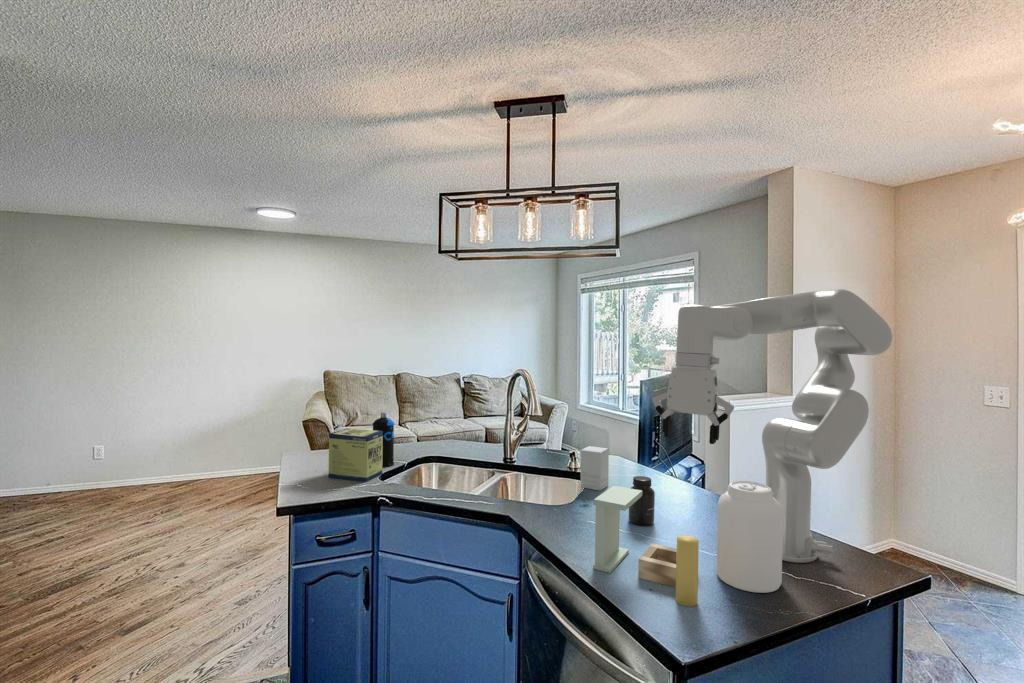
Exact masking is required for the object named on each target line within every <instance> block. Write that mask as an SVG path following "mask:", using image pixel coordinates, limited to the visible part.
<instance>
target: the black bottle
mask: <svg viewBox="0 0 1024 683" xmlns="http://www.w3.org/2000/svg"><path fill="white" fill-rule="evenodd" d="M372 430H374V431H383V452H382V468H389V467H392V466H394V465H395V462H394V453H395V452H394V450H395V449H394V447H395V446H394V444H395V443H394V441H395V439H394V437H395V434H394V433H395V432H394V430H395V421H393V420H392V419H390V418H388V417H387V412H386V411H381V412H380V417H379V418H377V419H375V420H374V421H373V422H372Z"/></svg>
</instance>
